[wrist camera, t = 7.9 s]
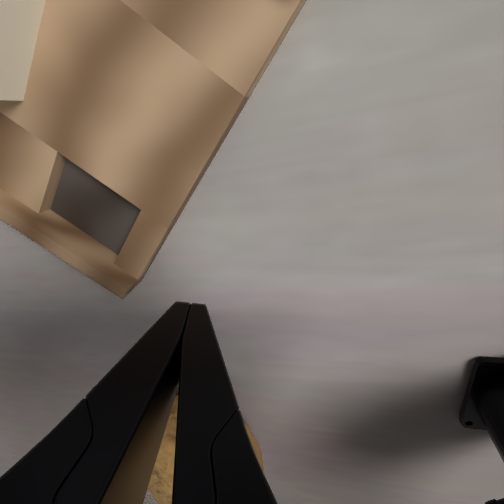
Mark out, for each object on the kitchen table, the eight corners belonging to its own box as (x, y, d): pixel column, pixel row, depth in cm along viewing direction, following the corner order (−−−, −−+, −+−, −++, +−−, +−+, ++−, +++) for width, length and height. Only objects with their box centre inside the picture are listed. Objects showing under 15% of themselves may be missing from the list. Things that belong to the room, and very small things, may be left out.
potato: (214, 346, 24) (173, 444, 17) (297, 453, 28) (291, 568, 21) (133, 376, 28) (71, 467, 21) (216, 467, 32) (188, 569, 25)
